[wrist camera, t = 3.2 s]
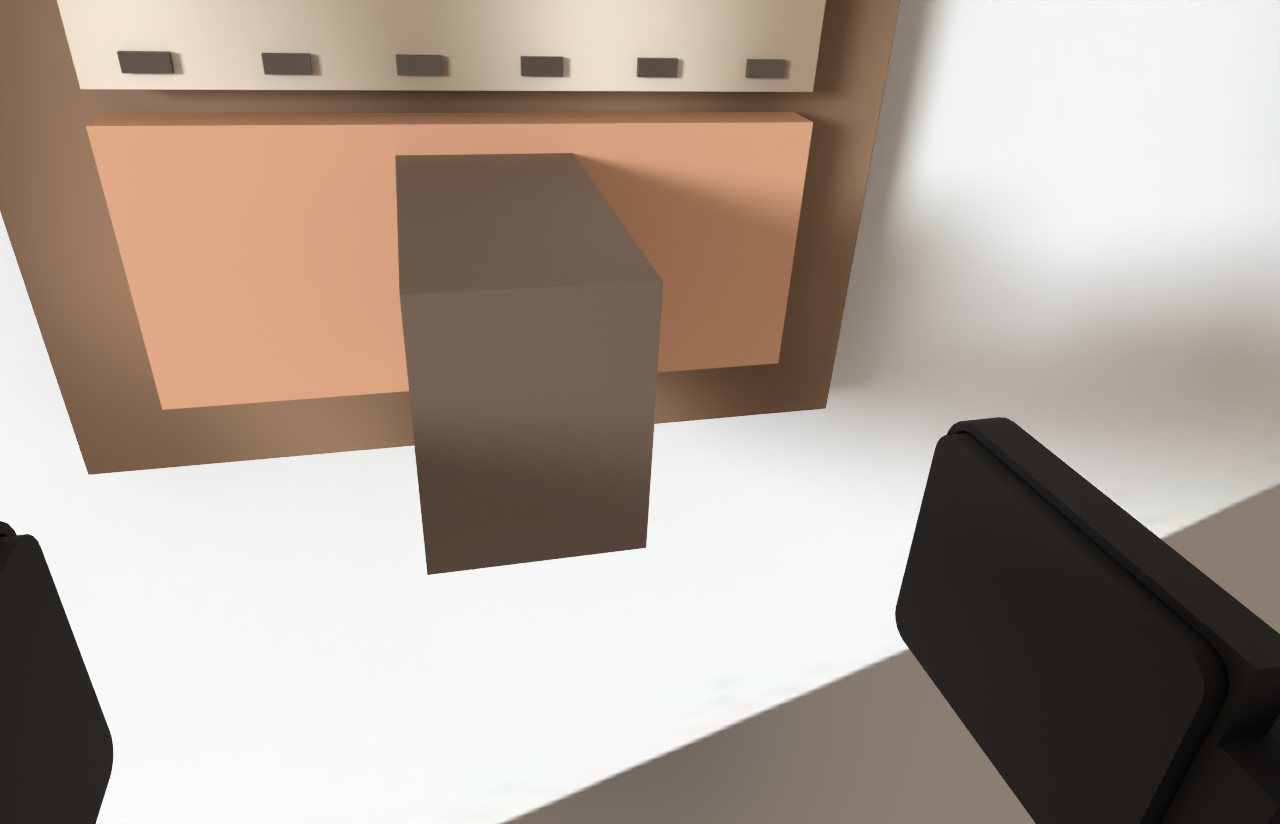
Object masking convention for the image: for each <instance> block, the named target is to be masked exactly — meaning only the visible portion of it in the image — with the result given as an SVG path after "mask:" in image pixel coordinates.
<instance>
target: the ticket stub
mask: <svg viewBox="0 0 1280 824" xmlns="http://www.w3.org/2000/svg"><path fill="white" fill-rule="evenodd" d="M812 127H813V122H812V121H810V120H808V119H806V118H804V117H802V116H801V115H799V114H797V113H795V112H580V113H145V114H101V115H100V116H98V117H97V118H96V119H95V120H93V121H92V122H91V123H89V124H88V125H87V126H86V129H87V132H88V136H89V140H90V143H91V147H92V151H93V154H94V158H95V162H96V166H97V169H98V173H99V177H100V180H101V184H102V188H103V192H104V195H105V199H106V203H107V206H108V210H109V214H110V217H111V221H112V225H113V229H114V232H115V236H116V240H117V243H118V247H119V251H120V254H121V258H122V262H123V266H124V269H125V273H126V277H127V280H128V284H129V288H130V292H131V295H132V299H133V303H134V306H135V310H136V314H137V317H138V321H139V325H140V329H141V332H142V336H143V340H144V343H145V347H146V351H147V355H148V358H149V362H150V366H151V369H152V373H153V377H154V380H155V384H156V388H157V392H158V395H159V399H160V403H161V406H162V410H166V409H179V408H193V407H206V406H219V405H232V404H246V403H259V402H272V401H285V400H299V399H312V398H325V397H338V396H352V395H365V394H378V393H391V392H405V391H409V394H410V404H411V414H412V424H413V434H414V444H415V454H416V464H417V474H418V484H419V494H420V504H421V514H422V524H423V534H424V543H425V553H426V563H427V573H428V575H430V574H438V573H446V572H454V571H462V570H470V569H478V568H486V567H494V566H502V565H510V564H518V563H526V562H534V561H542V560H550V559H558V558H566V557H574V556H582V555H591V554H599V553H607V552H615V551H623V550H631V549H639V548H646V539H647V524H648V509H649V493H650V478H651V463H652V448H653V432H654V417H655V402H656V387H657V372H670V371H683V370H696V369H709V368H723V367H736V366H749V365H762V364H776V363H778V361H779V355H780V348H781V341H782V334H783V327H784V320H785V313H786V306H787V299H788V293H789V286H790V279H791V272H792V265H793V258H794V251H795V244H796V237H797V231H798V224H799V217H800V210H801V203H802V196H803V189H804V182H805V175H806V169H807V162H808V155H809V148H810V141H811V134H812Z"/></svg>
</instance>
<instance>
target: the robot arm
mask: <svg viewBox="0 0 1280 824" xmlns="http://www.w3.org/2000/svg"><path fill="white" fill-rule="evenodd" d="M895 615H896V623H897V628H898V631H899V633H900V635H901V637H902V639H903V641H904V642H905V643H906V645H907V646H908V648H909V649H910V650H911V652H912V653H913V655H914V656H915V657H916V658H917V660H918V661H919V663H920V664H921V666H922V667H923V668H924V670H925V671H926V672H927V674H928V675H929V677H930V678H931V679H932V681H933V682H934V684H935V685H936V686H937V688H938V689H939V690H940V692H941V693H942V695H943V696H944V697H945V699H946V700H947V701H948V703H949V704H950V706H951V707H952V708H953V710H954V711H955V713H956V714H957V715H958V716H959V718H960V719H961V721H962V722H963V723H964V725H965V726H966V728H967V729H968V730H969V732H970V733H971V735H972V736H973V737H974V739H975V740H976V742H977V743H978V744H979V746H980V747H981V748H982V750H983V751H984V752H985V754H986V755H987V757H988V758H989V759H990V761H991V762H992V764H993V765H994V766H995V768H996V769H997V770H998V772H999V773H1000V775H1001V776H1002V777H1003V779H1004V780H1005V781H1006V783H1007V784H1008V786H1009V787H1010V789H1011V790H1012V791H1013V793H1014V794H1015V795H1016V797H1017V798H1018V799H1019V801H1020V802H1021V804H1022V805H1023V806H1024V808H1025V809H1026V811H1027V812H1028V813H1029V815H1030V816H1031V817H1032V819H1033V820H1034V822H1035V823H1036V824H1280V634H1279V633H1278V632H1276V631H1275V630H1274V629H1273V628H1271V627H1270V626H1269V625H1268V624H1266V623H1265V622H1264V621H1263V620H1261V619H1260V618H1259V617H1258V616H1256V615H1255V614H1253V613H1252V612H1251V611H1250V610H1249V609H1247V608H1246V607H1245V606H1244V605H1242V604H1241V603H1240V602H1239V601H1237V600H1236V599H1235V598H1234V597H1232V596H1231V595H1230V594H1229V593H1227V592H1226V591H1225V590H1223V589H1222V588H1221V587H1220V586H1219V585H1217V584H1216V583H1215V582H1214V581H1212V580H1211V579H1210V578H1209V577H1207V576H1206V575H1205V574H1204V573H1202V572H1201V571H1200V570H1199V569H1197V568H1196V567H1195V566H1194V565H1192V564H1191V563H1190V562H1189V561H1187V560H1186V559H1185V558H1184V557H1182V556H1181V555H1180V554H1179V553H1177V552H1176V551H1175V550H1173V549H1172V548H1171V547H1170V546H1168V545H1167V544H1166V543H1165V542H1163V541H1162V540H1161V539H1160V538H1158V537H1157V536H1156V535H1155V534H1153V533H1152V532H1151V531H1150V530H1148V529H1147V528H1146V527H1145V526H1143V525H1142V524H1141V523H1140V522H1138V521H1137V520H1136V519H1135V518H1133V517H1132V516H1131V515H1130V514H1128V513H1127V512H1126V511H1125V510H1123V509H1122V508H1121V507H1120V506H1118V505H1117V504H1116V503H1115V502H1113V501H1112V500H1111V499H1110V498H1108V497H1107V496H1106V495H1105V494H1103V493H1102V492H1101V491H1100V490H1098V489H1097V488H1096V487H1095V486H1093V485H1092V484H1091V483H1090V482H1088V481H1087V480H1086V479H1084V478H1083V477H1082V476H1081V475H1079V474H1078V473H1077V472H1076V471H1074V470H1073V469H1072V468H1071V467H1069V466H1068V465H1067V464H1066V463H1064V462H1063V461H1062V460H1061V459H1059V458H1058V457H1057V456H1056V455H1054V454H1053V453H1052V452H1051V451H1049V450H1048V449H1047V448H1046V447H1044V446H1043V445H1042V444H1041V443H1039V442H1038V441H1037V440H1036V439H1034V438H1033V437H1032V436H1031V435H1029V434H1028V433H1027V432H1026V431H1024V430H1023V429H1022V428H1021V427H1019V426H1018V425H1017V424H1016V423H1014V422H1013V421H1011V420H1009V419H1007V418H1000V417H998V418H988V419H979V420H969V421H960V422H958V423H956V424H954V425H953V426H952V427H951V428H950V429H949V431H948V433H947V435H945V436H943V437H941V438H940V440H939V441H938V443H937V445H936V448H935V452H934V456H933V460H932V464H931V468H930V472H929V476H928V480H927V484H926V488H925V492H924V496H923V500H922V504H921V508H920V512H919V516H918V520H917V524H916V528H915V532H914V536H913V541H912V545H911V549H910V553H909V557H908V561H907V565H906V569H905V573H904V577H903V581H902V585H901V589H900V593H899V597H898V601H897V605H896V612H895ZM112 764H113V744H112V738H111V734H110V731H109V728H108V726H107V723H106V720H105V718H104V715H103V712H102V710H101V707H100V704H99V702H98V699H97V696H96V694H95V691H94V688H93V686H92V683H91V680H90V678H89V675H88V672H87V670H86V667H85V664H84V662H83V659H82V656H81V654H80V651H79V648H78V646H77V643H76V640H75V638H74V635H73V632H72V630H71V627H70V624H69V622H68V619H67V616H66V614H65V611H64V608H63V605H62V603H61V600H60V597H59V595H58V592H57V589H56V587H55V584H54V581H53V579H52V576H51V573H50V571H49V568H48V565H47V563H46V560H45V557H44V555H43V552H42V549H41V547H40V545H39V543H38V541H37V540H36V539H35V538H34V537H33V536H31V535H28V534H26V535H16V533H15V531H14V530H13V529H12V528H11V527H10V526H9V525H8V524H7V523H4V522H1V521H0V824H95V823H96V820H97V817H98V814H99V811H100V807H101V804H102V801H103V798H104V795H105V791H106V788H107V785H108V782H109V779H110V775H111V770H112Z"/></svg>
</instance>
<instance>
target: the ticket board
mask: <svg viewBox="0 0 1280 824" xmlns="http://www.w3.org/2000/svg"><path fill="white" fill-rule="evenodd" d="M899 3H900V0H0V211H1V214H2V217H3V220H4V223H5V226H6V229H7V232H8V235H9V238H10V241H11V244H12V247H13V250H14V253H15V256H16V259H17V262H18V265H19V268H20V271H21V274H22V277H23V280H24V283H25V286H26V289H27V292H28V295H29V298H30V301H31V304H32V307H33V310H34V313H35V316H36V319H37V322H38V325H39V328H40V331H41V334H42V337H43V340H44V343H45V346H46V349H47V352H48V355H49V358H50V361H51V364H52V367H53V370H54V373H55V376H56V379H57V382H58V385H59V388H60V391H61V394H62V397H63V400H64V402H65V405H66V408H67V411H68V414H69V417H70V420H71V423H72V426H73V429H74V432H75V435H76V438H77V441H78V444H79V447H80V450H81V453H82V456H83V459H84V462H85V465H86V468H87V471H88V474H100V473H111V472H123V471H134V470H145V469H156V468H167V467H178V466H189V465H200V464H212V463H223V462H234V461H245V460H256V459H267V458H278V457H289V456H301V455H312V454H323V453H334V452H345V451H356V450H367V449H379V448H390V447H401V446H412V445H415V444H414V434H413V424H412V414H411V404H410V394H409V391H405V392H391V393H378V394H365V395H352V396H338V397H325V398H312V399H299V400H285V401H272V402H259V403H246V404H232V405H219V406H206V407H193V408H179V409H166V410H162V406H161V403H160V399H159V395H158V392H157V388H156V384H155V380H154V377H153V373H152V369H151V366H150V362H149V358H148V355H147V351H146V347H145V343H144V340H143V336H142V332H141V329H140V325H139V321H138V317H137V314H136V310H135V306H134V303H133V299H132V295H131V292H130V288H129V284H128V280H127V277H126V273H125V269H124V266H123V262H122V258H121V254H120V251H119V247H118V243H117V240H116V236H115V232H114V229H113V225H112V221H111V217H110V214H109V210H108V206H107V203H106V199H105V195H104V192H103V188H102V184H101V180H100V177H99V173H98V169H97V166H96V162H95V158H94V154H93V151H92V147H91V143H90V140H89V136H88V132H87V129H86V126H87V125H88V124H89V123H91V122H92V121H93V120H95V119H96V118H97V117H98V116H100V115H101V114H145V113H580V112H795V113H797V114H799V115H801V116H802V117H804V118H806V119H808V120H810V121H812V122H813V127H812V134H811V141H810V148H809V155H808V162H807V169H806V175H805V182H804V189H803V196H802V203H801V210H800V217H799V224H798V231H797V237H796V244H795V251H794V258H793V265H792V272H791V279H790V286H789V293H788V299H787V306H786V313H785V320H784V327H783V334H782V341H781V348H780V355H779V361H778V363H776V364H762V365H749V366H736V367H723V368H709V369H696V370H683V371H670V372H657V387H656V402H655V417H654V424H657V423H668V422H679V421H690V420H701V419H713V418H724V417H735V416H746V415H757V414H768V413H779V412H790V411H802V410H813V409H824V408H826V404H827V398H828V393H829V387H830V382H831V376H832V371H833V365H834V360H835V354H836V349H837V343H838V338H839V332H840V327H841V321H842V316H843V310H844V305H845V299H846V294H847V288H848V283H849V277H850V272H851V266H852V261H853V255H854V250H855V244H856V239H857V233H858V228H859V222H860V217H861V211H862V206H863V200H864V195H865V190H866V184H867V179H868V173H869V168H870V162H871V157H872V151H873V146H874V140H875V135H876V129H877V124H878V118H879V113H880V107H881V102H882V96H883V91H884V85H885V80H886V74H887V69H888V63H889V58H890V52H891V47H892V41H893V36H894V30H895V25H896V19H897V14H898V8H899Z"/></svg>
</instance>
